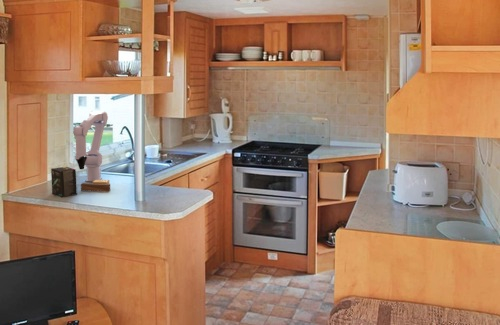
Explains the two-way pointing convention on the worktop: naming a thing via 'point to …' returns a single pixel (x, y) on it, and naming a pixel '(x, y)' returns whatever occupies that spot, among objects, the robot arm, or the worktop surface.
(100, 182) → the block
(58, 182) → the tampon box
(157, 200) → the worktop surface
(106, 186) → the brown wooden bar
